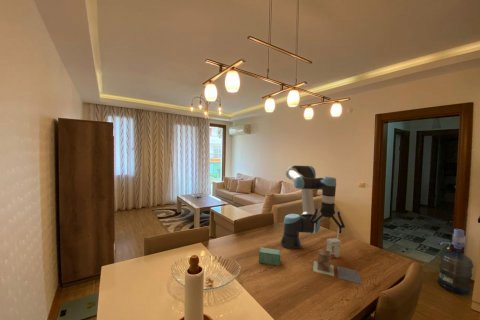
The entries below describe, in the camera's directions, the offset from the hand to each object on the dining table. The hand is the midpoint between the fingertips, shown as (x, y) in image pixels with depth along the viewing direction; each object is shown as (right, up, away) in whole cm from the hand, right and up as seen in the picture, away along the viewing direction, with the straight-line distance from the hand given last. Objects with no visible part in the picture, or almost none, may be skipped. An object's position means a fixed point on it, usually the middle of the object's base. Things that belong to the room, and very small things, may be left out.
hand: (325, 235), depth 132 cm
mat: (+12, -22, -5) cm, 25 cm away
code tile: (-1, -21, +1) cm, 21 cm away
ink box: (+12, -21, +18) cm, 30 cm away
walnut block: (-1, -21, +1) cm, 21 cm away
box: (-34, -19, +6) cm, 40 cm away
